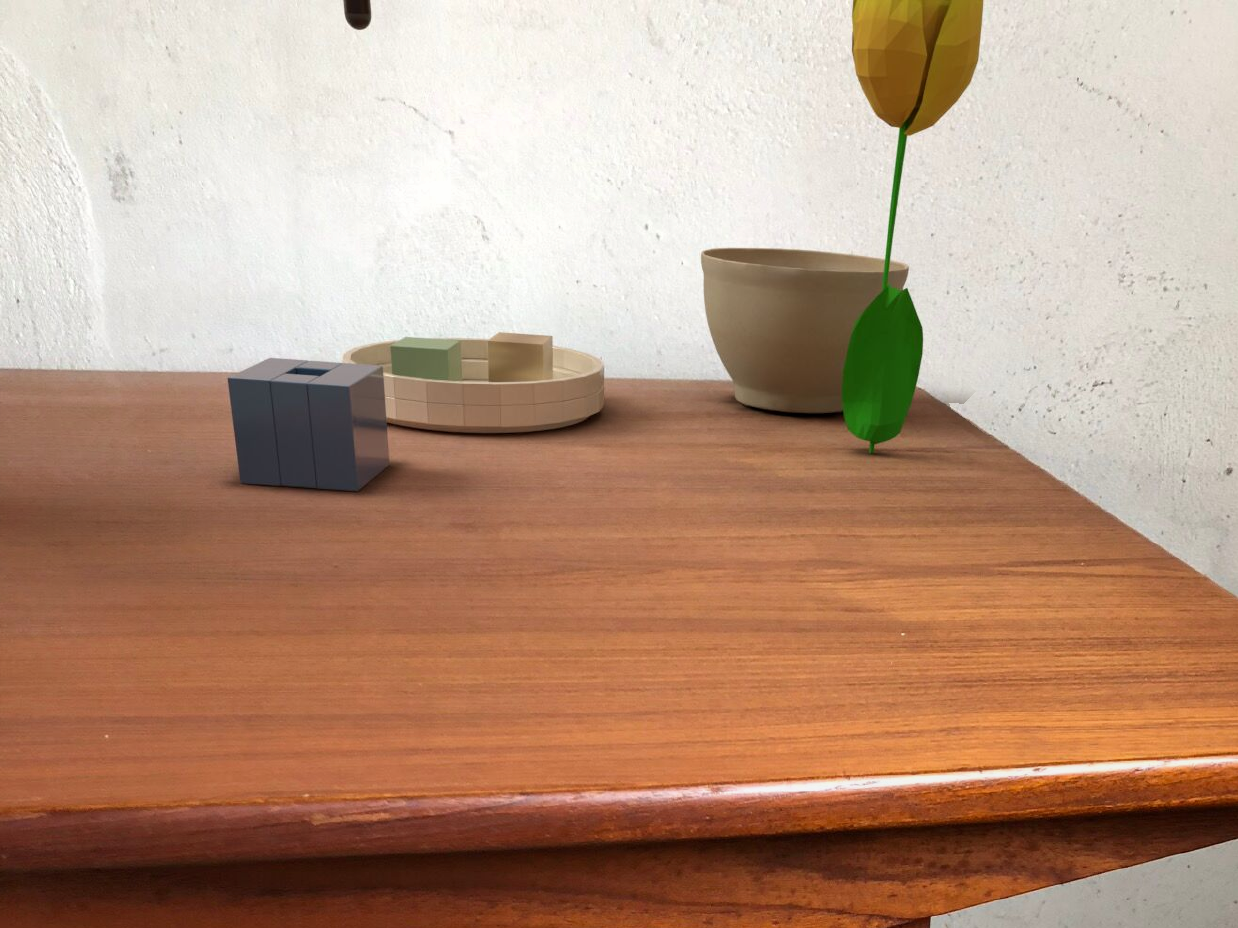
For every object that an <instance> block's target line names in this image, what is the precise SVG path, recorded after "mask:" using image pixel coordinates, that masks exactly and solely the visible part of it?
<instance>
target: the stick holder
mask: <svg viewBox="0 0 1238 928" xmlns="http://www.w3.org/2000/svg"><path fill="white" fill-rule="evenodd" d="M227 386H228V387H227V388H228V393H229V401H230V409H231V418H232V425H233V426H232V427H233V433H234V443H235V451H236V459H237V466H238V474H239V482H240V484H247V485H261V486H273V487H274V486H275V487H281V486H282V487H290V488H305V489H318V490H331V491H343V492H345V491H346V492H359V491H360V490H361V489H362V488H364V487H365V486H366V485H368V483H369V482H371V481H372V480H373V479H374V478H375V477H377V476H378V475H379V474H380V473H382V472H383V470H385V469H386V468H388V467H389V466H390V463H391V462H390V450H389V435H388V434H389V433H388V422H387V420H386V405H385V391H384V377H383V366H381V365H366V364H352V363H343V362H336V361H322V360H321V361H320V360H308V359H295V358H294V359H293V358H281V357H280V358H279V357H268V358H266V359H264V360H262V361H260V362H258V363H255V364H254V365H251V366H249V367H247V368H245V369H243V370H241V371H239V372H237V373H235V374H232V375H230V376H228V377H227Z"/></svg>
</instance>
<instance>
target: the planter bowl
mask: <svg viewBox="0 0 1238 928" xmlns="http://www.w3.org/2000/svg"><path fill="white" fill-rule="evenodd" d="M700 264H701V268H702V273H703V285H702V286H703V302H704V309H705V311H704V312H705V316H706V317H705V318H706V321H707V325H708V330H709V333H710V336H711V338H712V342H713V345H714V347H715V348H714V349H715V350H716V353H717V354H718V357H719V359H720V361H721V363H722V365H723V367H724V369H725V371H726V372H727V374H728V375H729V378H730V379H731V380H732V382H733V388H734V398H735V400H736V401H738V402H739V403H741V404H742V405H744V406H746V407H753V408H757V409H761V410H768V411H774V412H782V413H794V414H829V413H837V414H840V413H842V412H843V405H842V380H843V370H844V365H845V360H846V355H847V351H848V346H849V342H850V337H851V334H852V331H853V327H854V324H855V321H856V320H857V319H858V318H859V316H860V315H861V314H862V313H863V311H864V310H865V309H866V308H867V307H868V306H869V305H870V303H871V302H872V301H873V300H874V299H875V298H876V297H877V296H878V295H879V294H880V293H881V292H882V285H883V275H884V265H885V258H881V257H874V256H867V255H859V254H850V253H841V252H831V251H821V250H812V249H799V248H798V249H795V248H792V249H791V248H777V247H776V248H775V247H774V248H773V247H772V248H771V247H716V248H715V247H713V248H709V249H705V250H702V251H701V253H700ZM909 269H910V266H909V265H908V264H907V263H904V262H902V261H901V262H900V261H897V260H894V259H893V260H892V259H890V265H889V274H888V284H887V287H888V286H891V287H894V288H896V289H898V290H901V291H902V290H904V287H905V285H906V282H907V280H908V276H909V271H910V270H909Z"/></svg>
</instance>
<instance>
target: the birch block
mask: <svg viewBox="0 0 1238 928" xmlns="http://www.w3.org/2000/svg"><path fill="white" fill-rule="evenodd" d="M488 339H489V340H488V341H487V345H488V376H489V382H526V381H540V380H551V379H553V346H554V345H553V342H554V341H553V335H545V334H544V335H543V334H529V333H515V332H497V333H496V334H494V335H493V336H492V337H490V338H488Z"/></svg>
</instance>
